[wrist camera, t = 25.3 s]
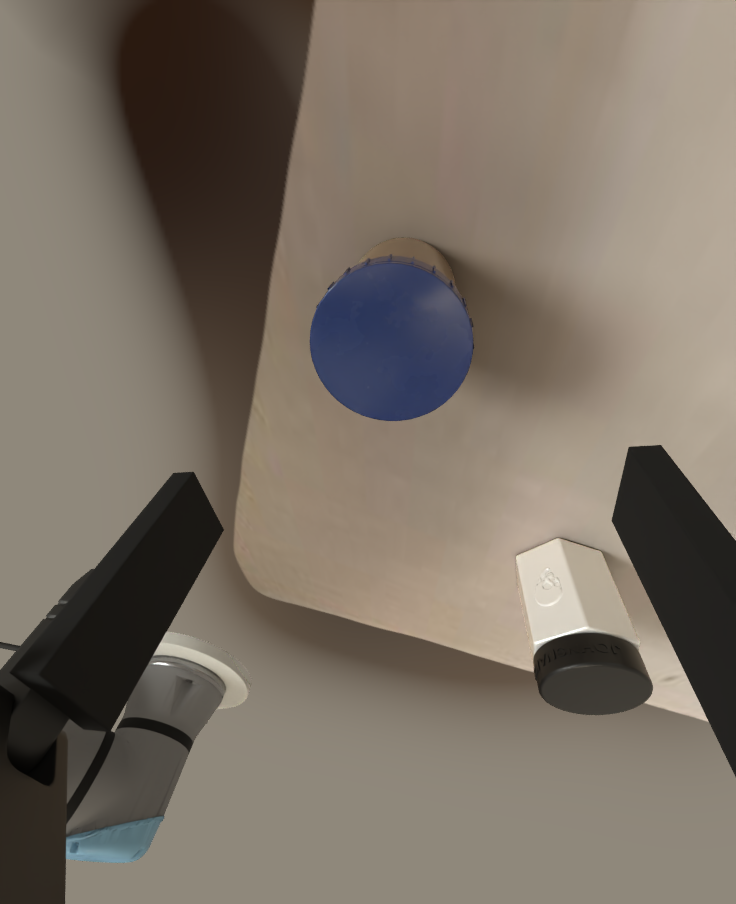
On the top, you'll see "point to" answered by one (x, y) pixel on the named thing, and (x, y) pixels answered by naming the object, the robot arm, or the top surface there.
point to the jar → (579, 631)
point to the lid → (392, 338)
